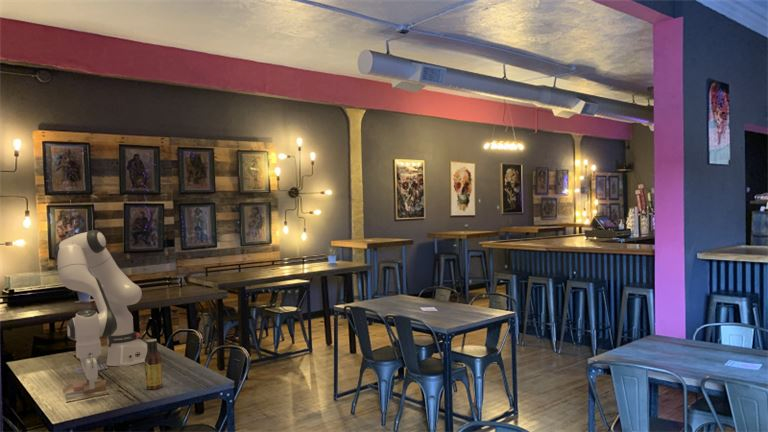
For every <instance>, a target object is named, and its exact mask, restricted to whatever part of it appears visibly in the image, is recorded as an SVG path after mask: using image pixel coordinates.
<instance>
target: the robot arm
mask: <svg viewBox="0 0 768 432" xmlns="http://www.w3.org/2000/svg"><path fill="white" fill-rule="evenodd" d="M106 246H107V240H106V237H105V235H104V234H103V232H101V231H100V230H98V229H92V230H87V231H86V232H81V233H77V234H74V235H72V236H70V237H67V238H65V239H64V240H63V239H62V240H60V241H57V242H56V243H55V244H54V246H53V248H52V255H53V257H54V259H55V260H56V261H57V262H56V263H57V272H58V279H59V281H60V283H61V285H62V286H64V287H65V288H67V289H69V290H72V291H75V292H80V293H81V292H82V293H84V294H88V295H89V296H91V297H92V298H93V300H94V302H95V306H96V307H97V310H98V311H96V310H94V309H82V310H79V311H78V312H76V313H75V317H72V318H70V319H69V321H68V322H67V323H66V335H67V338H68V339H69V340H72V341H76V343H75V354H76V358H77V359H79V361H80V365H81V368H82V371H83V373H84V375H85V378H86V379H85V380H86V382H87V383H89V388H90V389H94V388H95V380H96V379H99V372H98V371H99V370H98V361H97V360H98V359H99V356H101V355H102V344H101V343H102V342H101V338H106V339H107V340H106V341H107V342H106V343H107V347H108V349H107V350H108V351H107V360H106V364H105V365H106V366H109V367H124V366H126V367H129V366H133V365H137V364H141V363H145V357H146V354H147V342H145V341H143V340H142V339H139V338H140V337H141V333H139V332H137V331H134V317H133V315H132V314H133V313H131V312H130V311H129V309H128V306H131V305H135V304H138V302H140V300H141V299H142V295H143V292H142V288H141V287H140V286H139V285H137V284H136V283H134V282H133V281H132V280H131V279H130V278H129V277H128V276H127V275H126V274H125V273H124V272H123V271H122V270H121V269H120V267H119V266H118V265H117V263H116V261H115V260H114V257H113V256H112V255H111V253H110V252H109V250H108V249H107V247H106Z"/></svg>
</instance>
